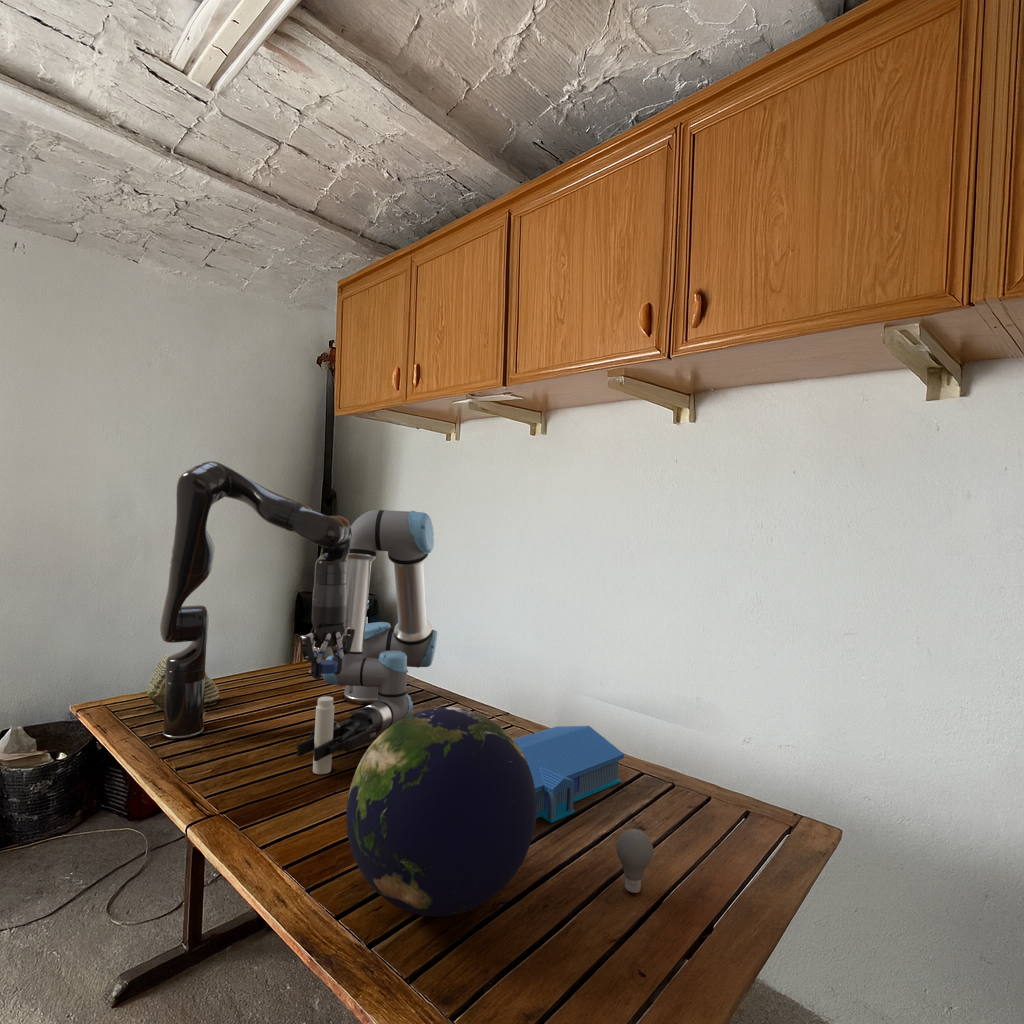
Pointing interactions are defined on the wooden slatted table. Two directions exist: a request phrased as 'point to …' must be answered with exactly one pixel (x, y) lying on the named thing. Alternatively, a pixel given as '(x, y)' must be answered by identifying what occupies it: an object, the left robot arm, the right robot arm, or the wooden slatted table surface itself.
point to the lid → (329, 666)
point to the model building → (568, 767)
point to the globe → (441, 811)
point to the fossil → (158, 687)
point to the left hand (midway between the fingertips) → (326, 675)
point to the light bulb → (634, 857)
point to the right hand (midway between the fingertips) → (307, 752)
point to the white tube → (323, 732)
